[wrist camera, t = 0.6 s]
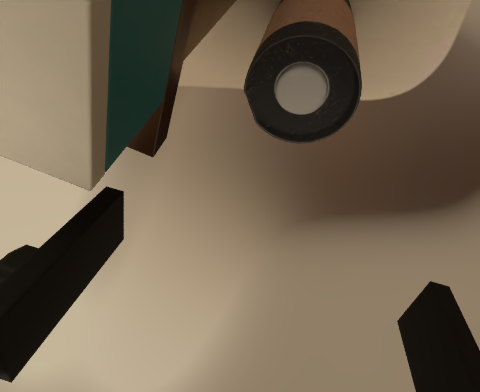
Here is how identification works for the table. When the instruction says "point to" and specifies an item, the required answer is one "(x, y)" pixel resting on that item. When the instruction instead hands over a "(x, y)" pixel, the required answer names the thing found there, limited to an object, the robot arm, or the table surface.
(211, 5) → the shelf stand
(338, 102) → the travel mug
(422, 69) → the table surface
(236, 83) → the table surface
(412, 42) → the table surface
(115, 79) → the long rectangular block
